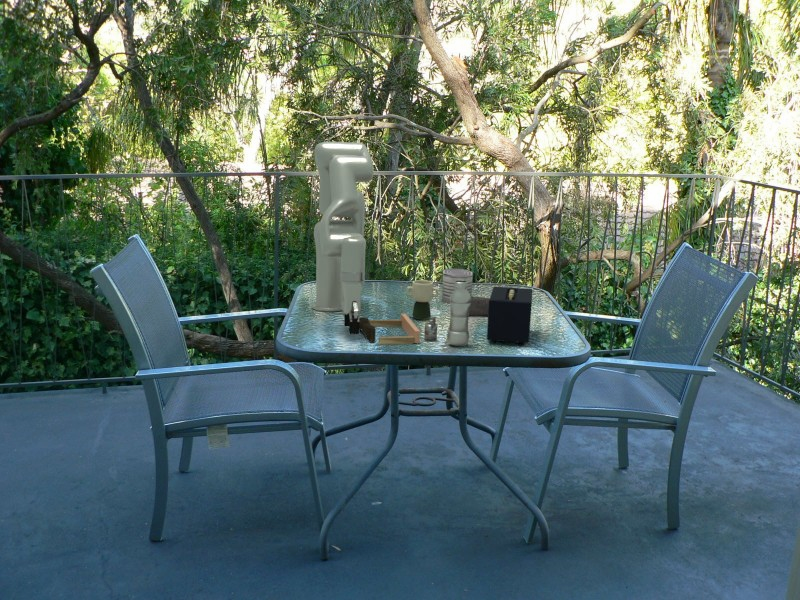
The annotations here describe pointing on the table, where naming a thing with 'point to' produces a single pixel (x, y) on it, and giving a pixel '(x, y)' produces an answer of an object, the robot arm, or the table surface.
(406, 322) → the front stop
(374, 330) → the dark brown log
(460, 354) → the table surface
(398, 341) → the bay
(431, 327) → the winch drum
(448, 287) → the can
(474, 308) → the perforated stone tool
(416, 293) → the character mug
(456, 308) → the plastic bottle
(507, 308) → the speaker
